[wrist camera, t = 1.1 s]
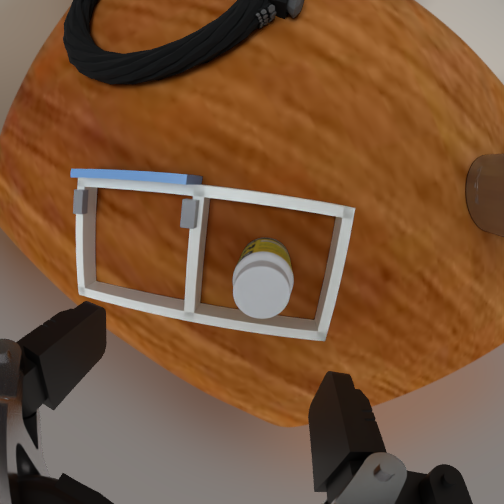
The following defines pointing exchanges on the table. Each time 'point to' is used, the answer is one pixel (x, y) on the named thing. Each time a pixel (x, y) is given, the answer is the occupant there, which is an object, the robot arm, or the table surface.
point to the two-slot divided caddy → (202, 251)
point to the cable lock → (170, 55)
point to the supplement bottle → (263, 279)
